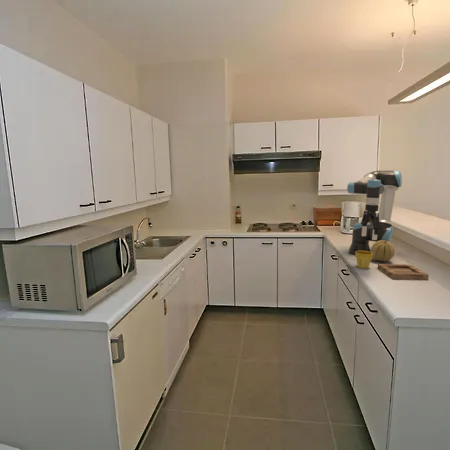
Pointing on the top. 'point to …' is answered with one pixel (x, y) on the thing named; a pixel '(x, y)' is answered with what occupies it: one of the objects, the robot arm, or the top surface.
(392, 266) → the walnut tray
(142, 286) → the top surface
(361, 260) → the plant pot
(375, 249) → the cantaloupe
